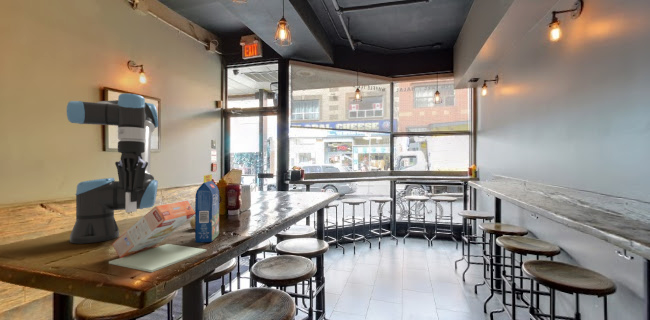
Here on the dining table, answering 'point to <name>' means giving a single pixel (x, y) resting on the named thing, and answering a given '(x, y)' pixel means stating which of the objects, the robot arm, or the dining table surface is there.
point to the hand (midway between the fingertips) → (131, 211)
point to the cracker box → (153, 228)
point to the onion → (192, 223)
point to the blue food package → (207, 211)
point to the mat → (157, 257)
